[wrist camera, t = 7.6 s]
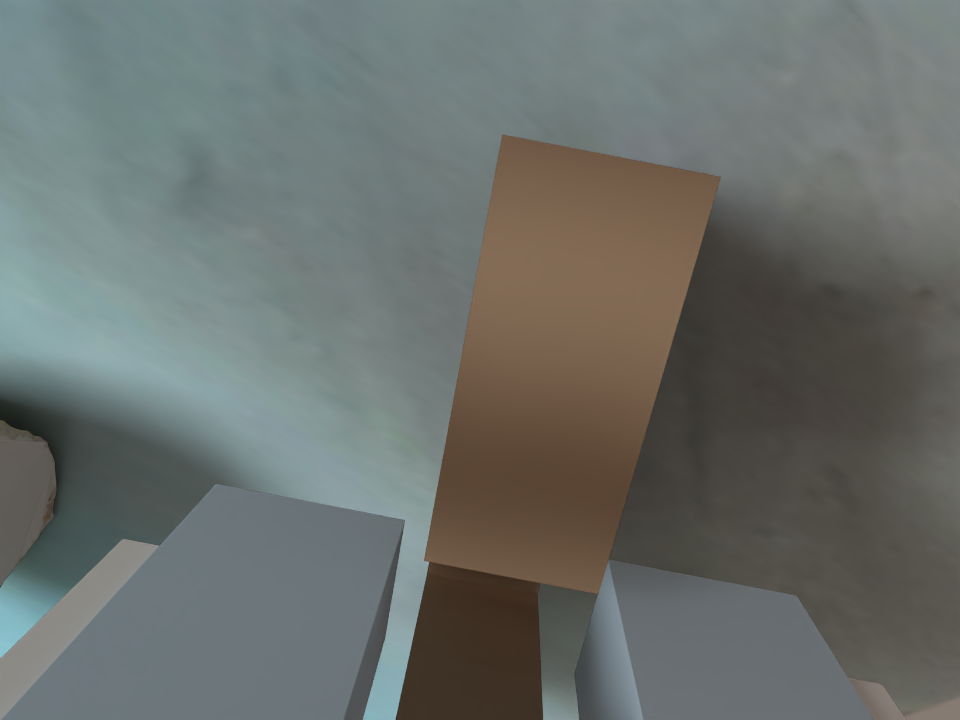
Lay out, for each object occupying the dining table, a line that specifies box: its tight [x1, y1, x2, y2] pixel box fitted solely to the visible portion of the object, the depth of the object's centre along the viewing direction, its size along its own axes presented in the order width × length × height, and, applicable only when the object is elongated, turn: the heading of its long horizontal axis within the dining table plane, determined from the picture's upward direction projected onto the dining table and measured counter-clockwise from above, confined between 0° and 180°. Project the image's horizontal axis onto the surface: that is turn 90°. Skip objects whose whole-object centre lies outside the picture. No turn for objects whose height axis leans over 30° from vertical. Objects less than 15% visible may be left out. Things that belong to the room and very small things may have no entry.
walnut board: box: [396, 135, 721, 720], centre depth 16 cm, size 18×3×10 cm, turn 170°
